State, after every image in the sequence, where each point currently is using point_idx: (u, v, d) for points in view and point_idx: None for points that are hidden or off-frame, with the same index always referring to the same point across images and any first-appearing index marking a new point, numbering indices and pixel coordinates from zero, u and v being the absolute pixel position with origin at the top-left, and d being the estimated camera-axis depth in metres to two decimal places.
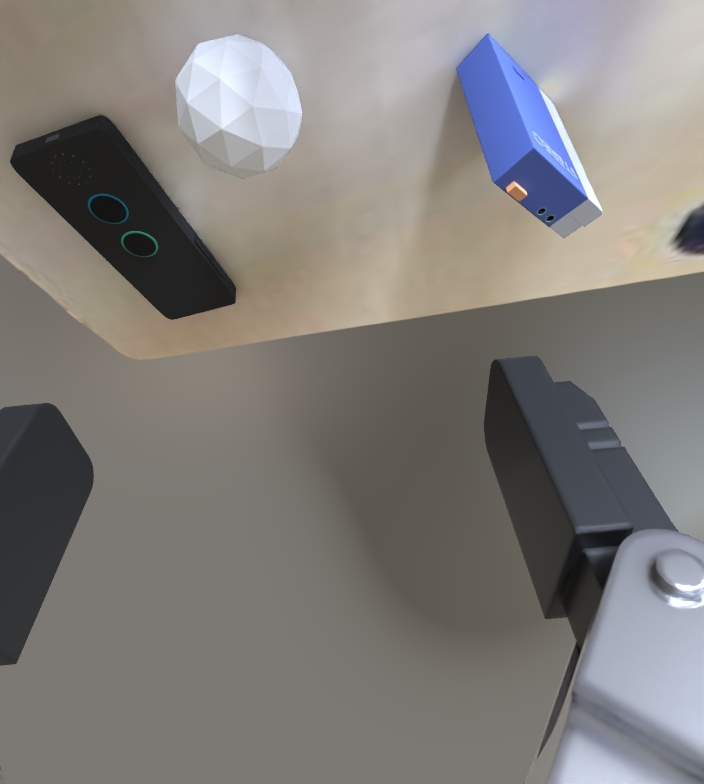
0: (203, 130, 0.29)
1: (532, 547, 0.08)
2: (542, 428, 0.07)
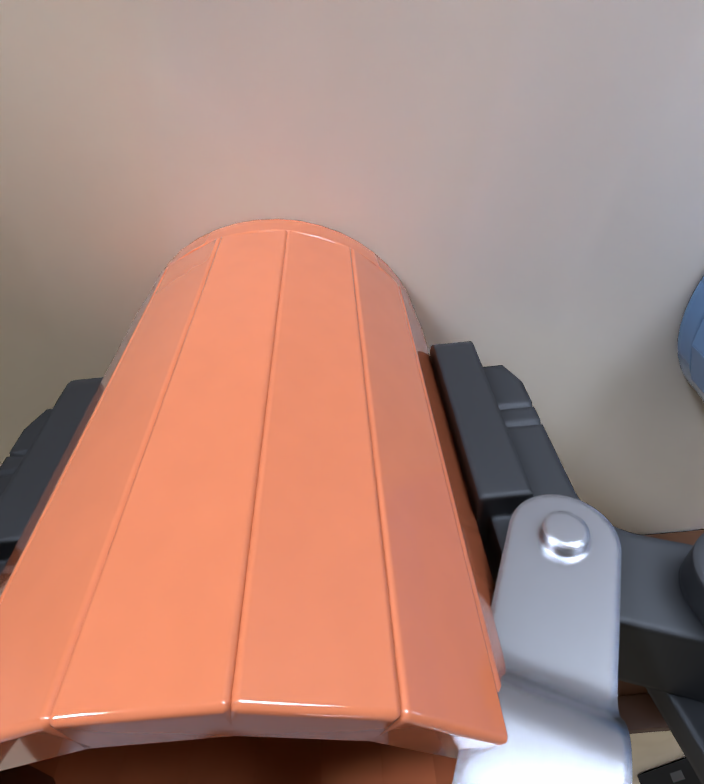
0: None
1: None
2: (464, 406, 0.08)
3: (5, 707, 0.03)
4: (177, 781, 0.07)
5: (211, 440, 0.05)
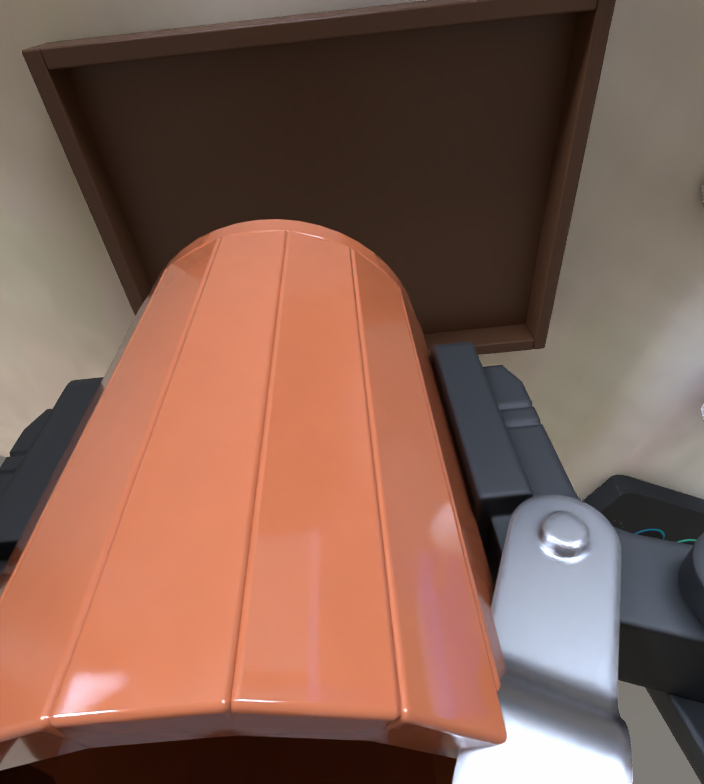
0: None
1: None
2: (464, 406, 0.08)
3: (6, 707, 0.03)
4: (177, 781, 0.07)
5: (211, 440, 0.05)
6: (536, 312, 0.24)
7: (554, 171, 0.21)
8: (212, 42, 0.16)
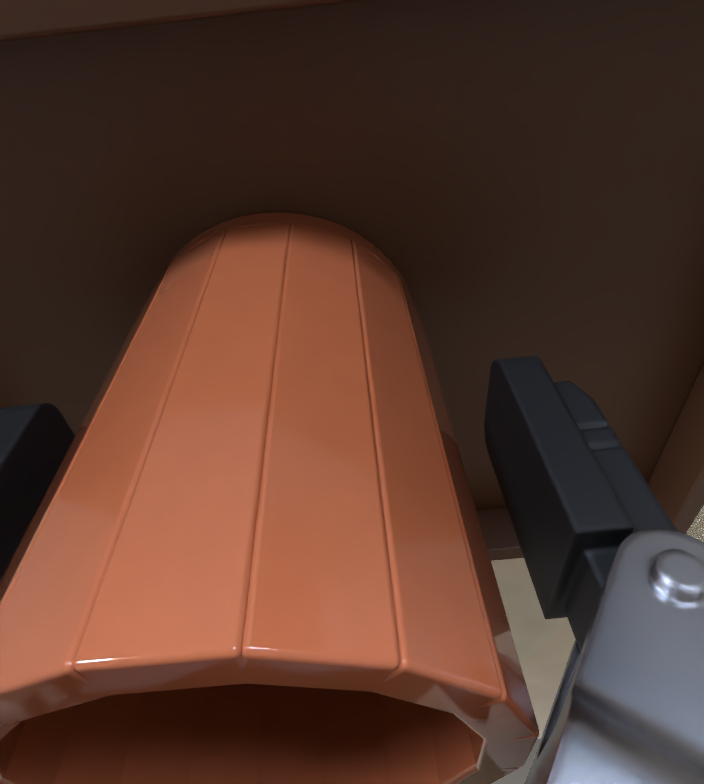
0: None
1: (532, 548, 0.08)
2: (542, 428, 0.07)
3: (31, 656, 0.04)
4: (185, 753, 0.07)
5: (220, 417, 0.05)
6: (675, 494, 0.14)
7: None
8: None
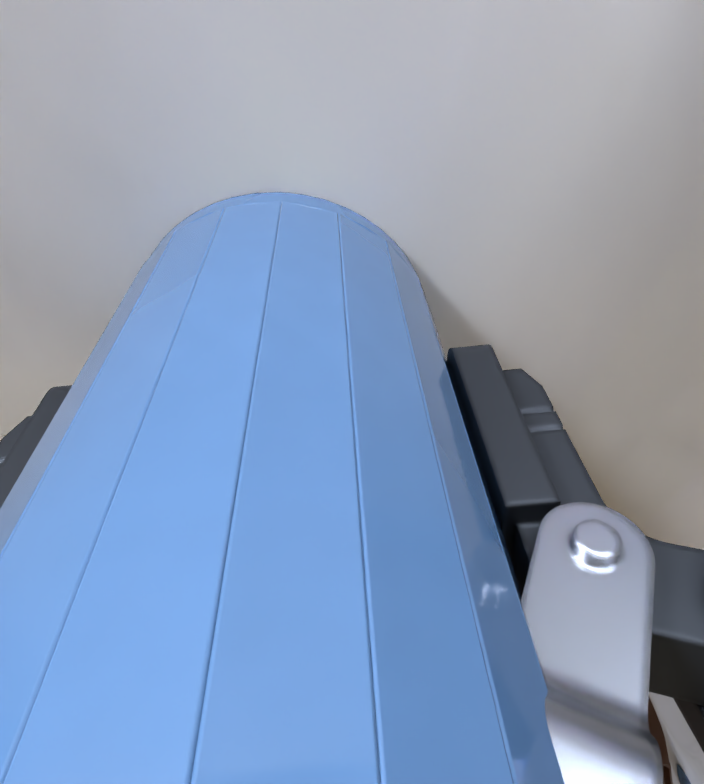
0: None
1: None
2: (486, 411, 0.07)
3: None
4: None
5: None
6: None
7: None
8: None
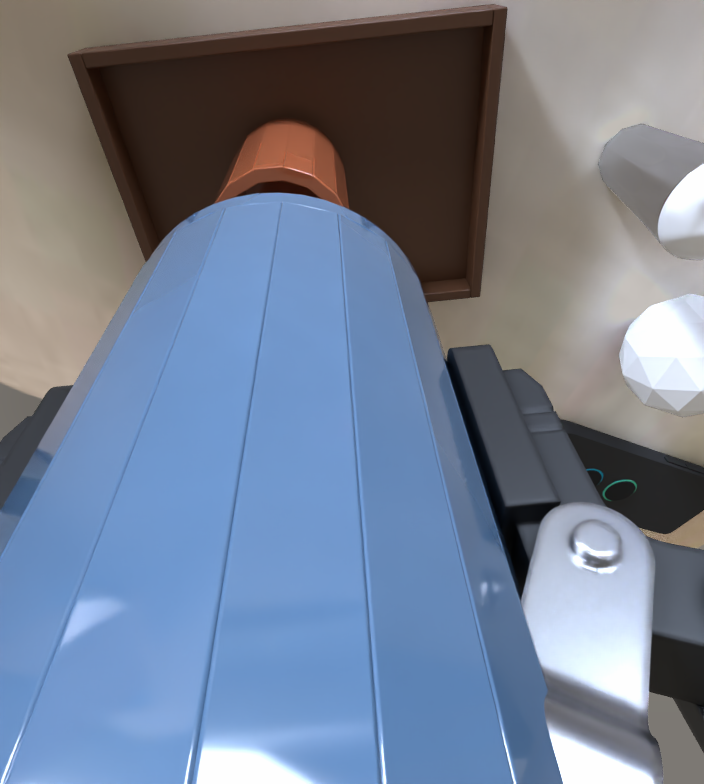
0: (679, 400, 0.31)
1: None
2: (486, 411, 0.07)
3: (243, 173, 0.19)
4: None
5: (274, 149, 0.21)
6: (471, 266, 0.30)
7: (476, 149, 0.26)
8: (208, 48, 0.22)
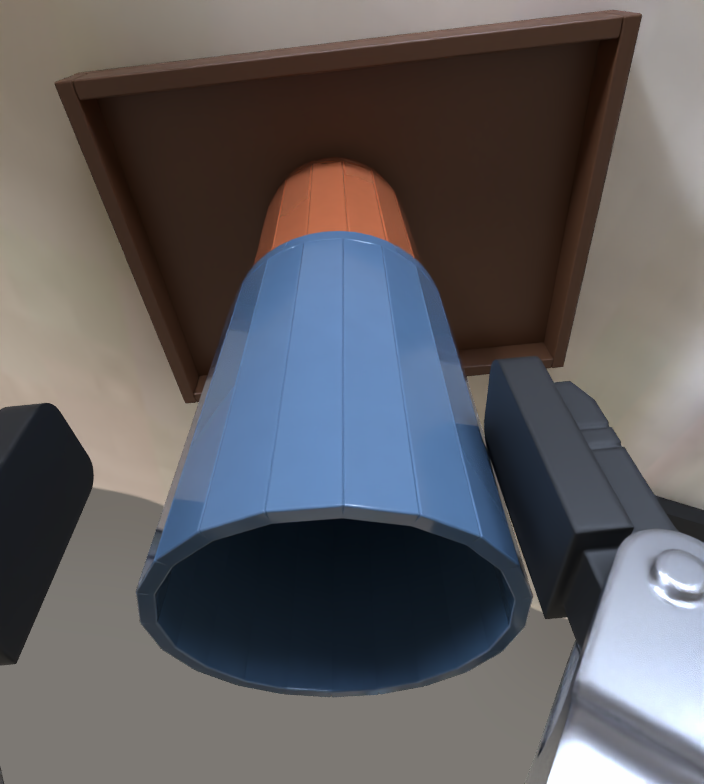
0: None
1: (532, 547, 0.08)
2: (542, 428, 0.07)
3: None
4: None
5: (330, 209, 0.15)
6: (555, 331, 0.24)
7: (574, 193, 0.21)
8: (239, 73, 0.17)
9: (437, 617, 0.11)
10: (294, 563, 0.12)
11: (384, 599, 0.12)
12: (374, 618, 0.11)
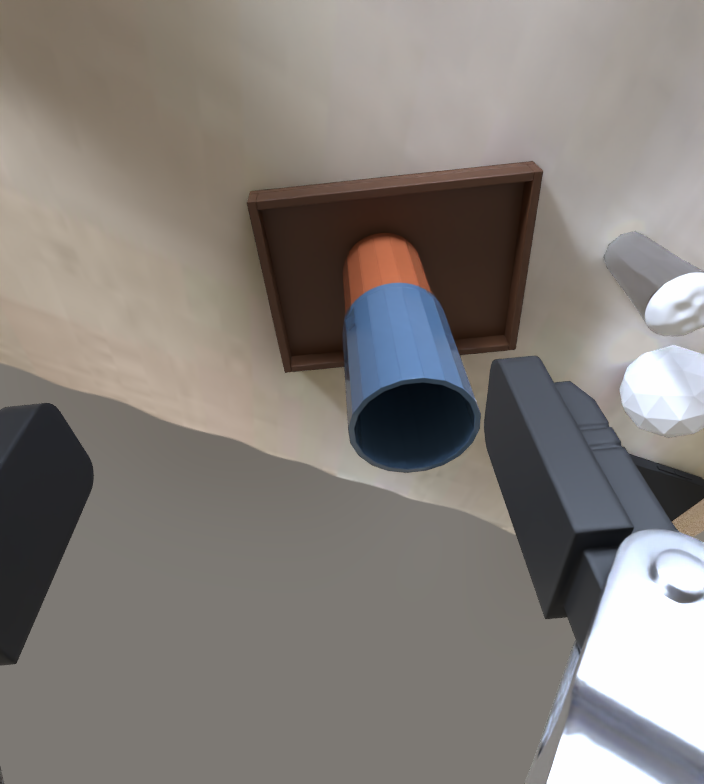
0: (664, 426, 0.41)
1: (532, 547, 0.08)
2: (542, 428, 0.07)
3: None
4: None
5: (389, 269, 0.32)
6: (510, 328, 0.40)
7: (517, 251, 0.37)
8: (341, 197, 0.33)
9: (447, 441, 0.27)
10: (384, 429, 0.29)
11: (424, 440, 0.28)
12: (421, 446, 0.28)
